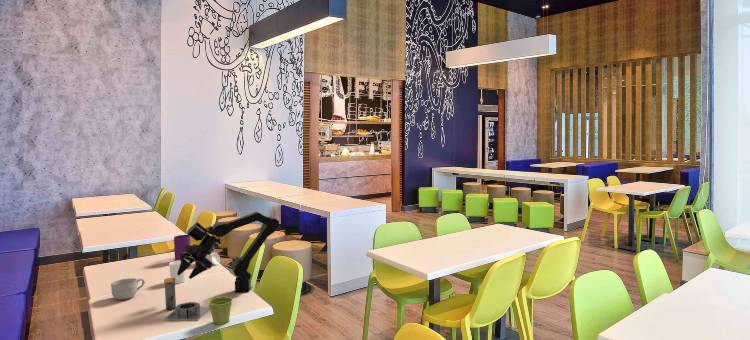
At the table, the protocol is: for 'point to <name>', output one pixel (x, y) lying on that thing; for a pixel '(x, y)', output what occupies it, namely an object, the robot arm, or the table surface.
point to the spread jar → (213, 257)
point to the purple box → (180, 244)
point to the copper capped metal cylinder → (170, 294)
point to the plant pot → (220, 309)
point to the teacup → (125, 288)
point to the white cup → (174, 270)
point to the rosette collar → (187, 312)
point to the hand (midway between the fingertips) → (183, 276)
